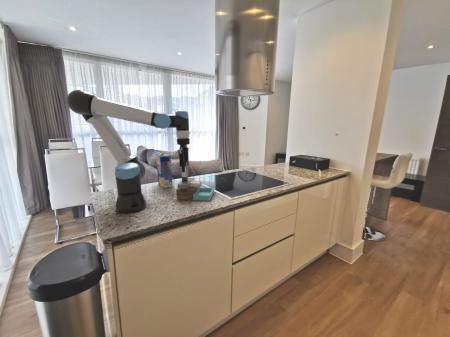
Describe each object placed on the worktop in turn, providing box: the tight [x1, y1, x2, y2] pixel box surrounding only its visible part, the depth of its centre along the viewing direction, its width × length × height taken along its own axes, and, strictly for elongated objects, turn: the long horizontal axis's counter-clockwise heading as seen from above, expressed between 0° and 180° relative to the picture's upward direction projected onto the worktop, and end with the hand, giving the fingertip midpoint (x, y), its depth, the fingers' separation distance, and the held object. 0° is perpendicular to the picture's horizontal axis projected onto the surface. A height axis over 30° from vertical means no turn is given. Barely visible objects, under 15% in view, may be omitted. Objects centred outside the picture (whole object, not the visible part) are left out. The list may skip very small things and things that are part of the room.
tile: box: [190, 179, 203, 188], centre depth 129 cm, size 6×6×3 cm
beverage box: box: [155, 153, 173, 189], centre depth 151 cm, size 7×11×22 cm, turn 34°
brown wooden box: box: [175, 187, 198, 201], centre depth 130 cm, size 14×10×6 cm
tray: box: [193, 187, 215, 201], centre depth 130 cm, size 15×10×3 cm, turn 174°
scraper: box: [176, 161, 195, 189], centre depth 128 cm, size 16×6×14 cm, turn 174°
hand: (185, 176), depth 129 cm, fingers closed on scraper, 3 cm apart
